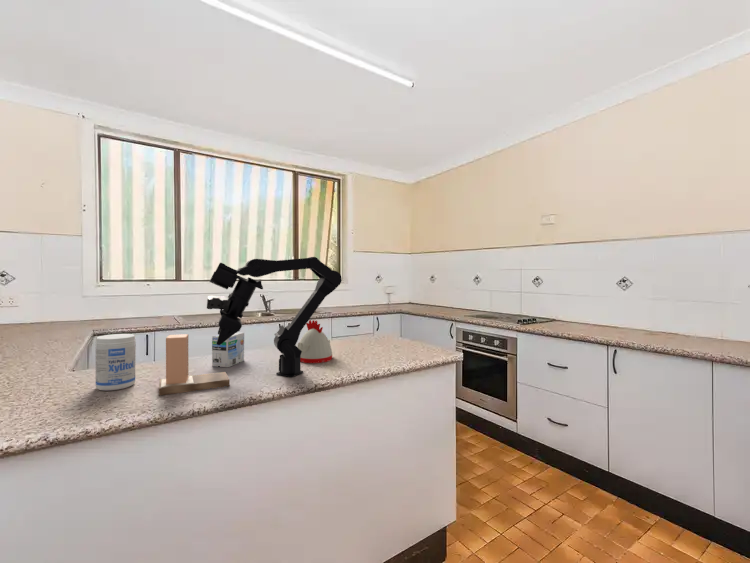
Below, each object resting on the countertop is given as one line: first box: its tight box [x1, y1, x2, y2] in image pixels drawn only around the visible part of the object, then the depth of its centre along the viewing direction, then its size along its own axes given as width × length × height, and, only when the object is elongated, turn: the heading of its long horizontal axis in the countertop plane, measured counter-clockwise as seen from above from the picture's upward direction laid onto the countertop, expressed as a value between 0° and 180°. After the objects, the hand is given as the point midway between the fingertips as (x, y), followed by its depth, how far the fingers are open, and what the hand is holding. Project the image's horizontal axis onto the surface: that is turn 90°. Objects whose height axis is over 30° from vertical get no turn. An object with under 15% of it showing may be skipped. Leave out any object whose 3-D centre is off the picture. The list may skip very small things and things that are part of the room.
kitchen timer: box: [297, 319, 333, 364], centre depth 143 cm, size 14×14×15 cm
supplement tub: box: [95, 333, 137, 391], centre depth 107 cm, size 10×10×15 cm
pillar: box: [165, 333, 190, 384], centre depth 106 cm, size 5×5×13 cm
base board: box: [158, 371, 231, 396], centre depth 108 cm, size 18×9×2 cm, turn 119°
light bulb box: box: [211, 331, 245, 368], centre depth 134 cm, size 11×7×11 cm, turn 168°
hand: (218, 339), depth 116 cm, fingers open, 9 cm apart
